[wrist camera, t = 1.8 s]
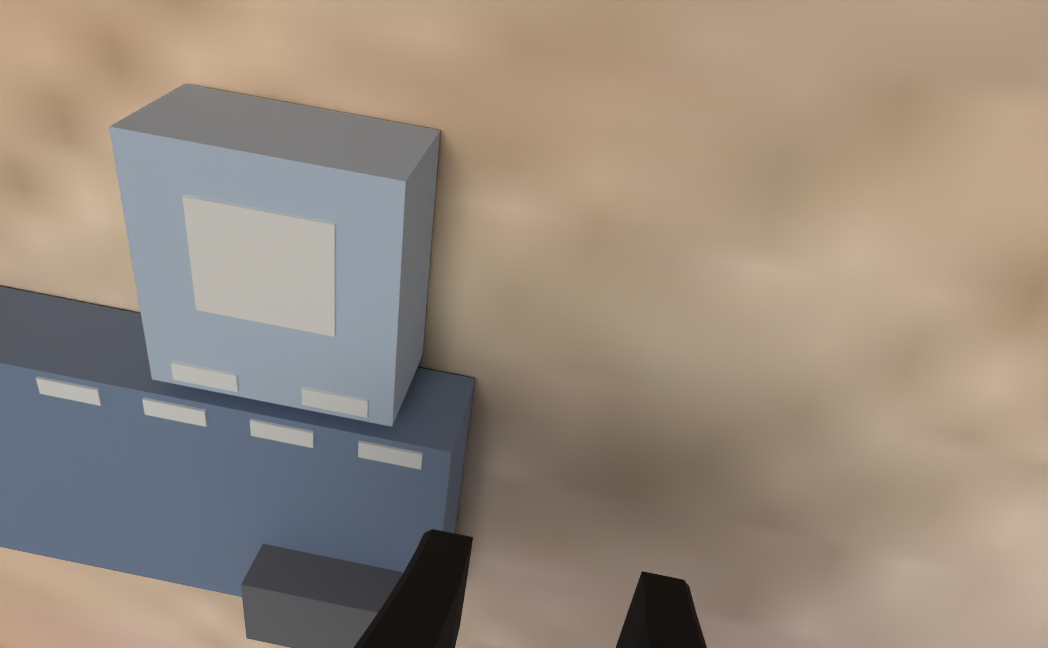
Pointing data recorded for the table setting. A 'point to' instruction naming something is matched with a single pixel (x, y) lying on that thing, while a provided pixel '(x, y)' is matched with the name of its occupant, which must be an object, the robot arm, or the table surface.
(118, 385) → the network switch box
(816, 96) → the table surface
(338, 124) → the light blue box
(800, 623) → the table surface
